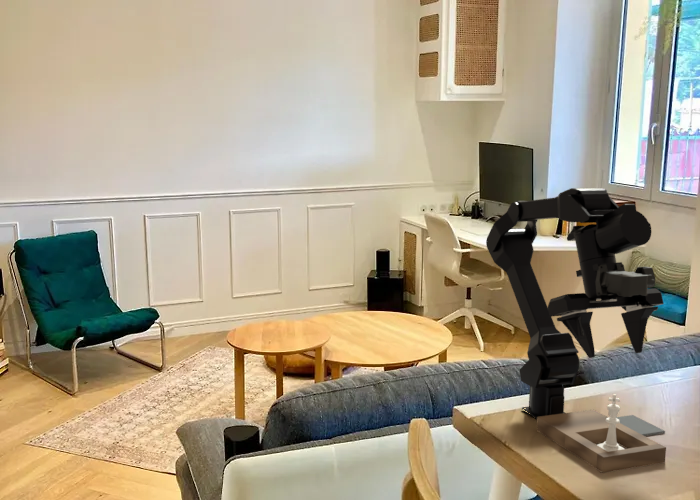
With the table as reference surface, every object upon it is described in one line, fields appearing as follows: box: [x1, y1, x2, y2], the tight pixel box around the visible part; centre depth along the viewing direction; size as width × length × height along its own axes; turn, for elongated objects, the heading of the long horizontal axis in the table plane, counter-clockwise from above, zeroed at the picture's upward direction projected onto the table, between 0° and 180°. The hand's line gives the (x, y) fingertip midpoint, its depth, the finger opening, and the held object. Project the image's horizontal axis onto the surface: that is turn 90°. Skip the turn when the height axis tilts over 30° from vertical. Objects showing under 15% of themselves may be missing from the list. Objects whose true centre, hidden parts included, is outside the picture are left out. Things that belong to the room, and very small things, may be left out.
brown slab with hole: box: [536, 408, 667, 474], centre depth 117 cm, size 18×12×2 cm
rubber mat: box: [616, 414, 666, 437], centre depth 125 cm, size 8×8×1 cm
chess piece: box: [596, 393, 625, 452], centre depth 114 cm, size 5×5×10 cm
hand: (615, 355), depth 112 cm, fingers open, 9 cm apart
